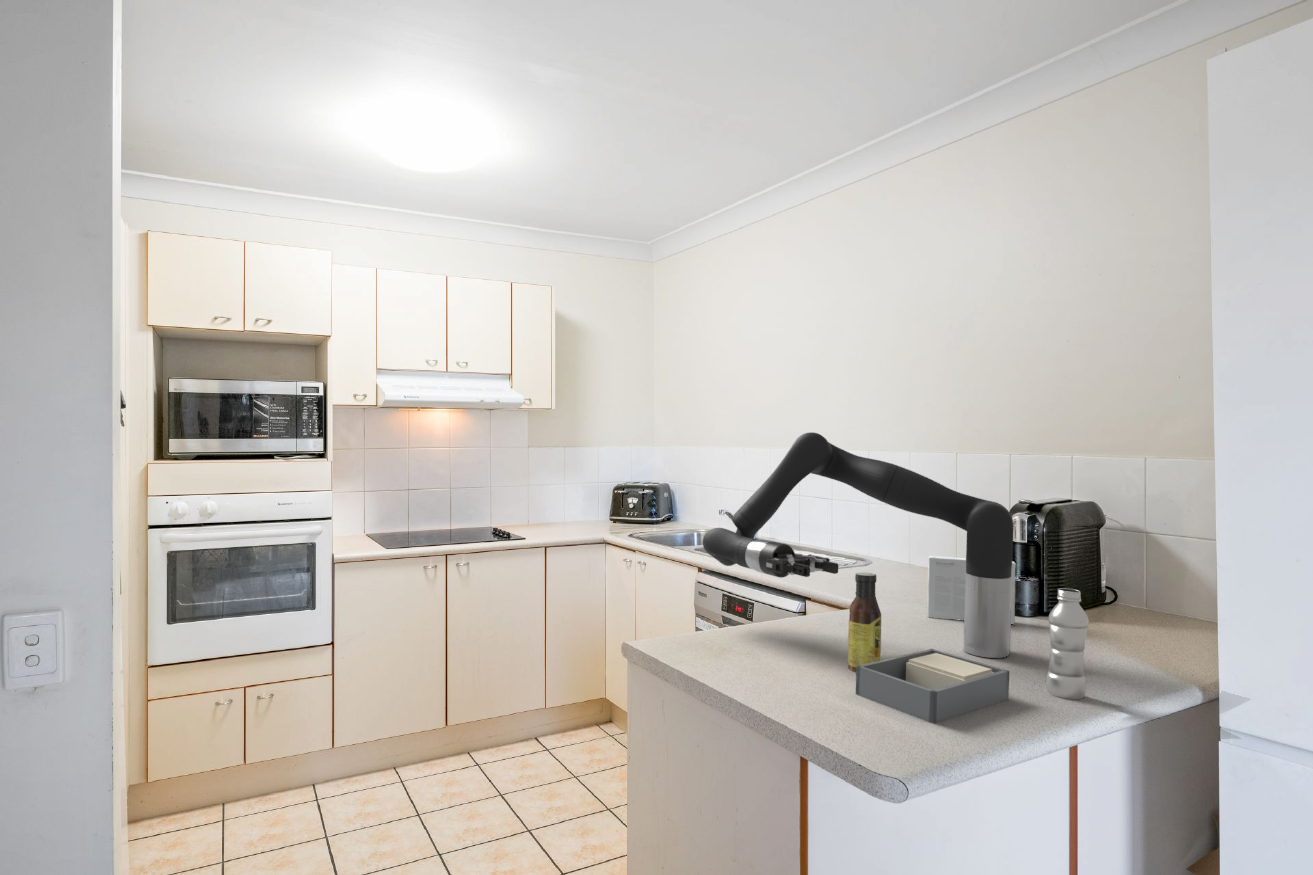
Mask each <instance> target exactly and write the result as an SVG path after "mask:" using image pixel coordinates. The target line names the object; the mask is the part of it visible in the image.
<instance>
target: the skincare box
mask: <svg viewBox="0 0 1313 875" xmlns="http://www.w3.org/2000/svg"><path fill="white" fill-rule="evenodd" d="M927 564H928V565H927V567H928V568H927V618H928V617H931V618H930V619H938V618H941V620H949V619H960V620H964V618H965V587H966V586H965V584H966V557H955V556H953V557H952V556H940V555H928V563H927ZM1016 566H1017V564H1016V562H1015V561H1013V560H1012V570H1011V598H1010V610H1011V623H1015V620H1016V619H1015V618H1016V617H1015V614H1016V613H1015V612H1016V611H1015V610H1016V608H1015V606H1016ZM932 617H933V618H932ZM1015 624H1016V623H1015Z"/></svg>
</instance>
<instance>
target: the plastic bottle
mask: <svg viewBox="0 0 1313 875" xmlns="http://www.w3.org/2000/svg"><path fill="white" fill-rule="evenodd" d="M1081 594H1082V593H1081V591H1080V590H1078V589H1073V588H1061V587H1060V588H1057V596H1056V599H1057V600H1058V603H1056V604H1055V606H1054V607H1053V608H1052V610H1050V612H1049V615H1048V628H1049V636H1050V656H1049V663H1048V670H1047V672H1046V677H1045V688H1046V692H1047V693H1048V694H1049V695H1052V696H1053V697H1057V698H1060V699H1066V700H1081V699H1083V698H1084V697H1085V696H1086V693H1087V681H1086V676H1085V661H1084V660H1085V658H1084V657H1085V648H1086V647H1085V646H1086V640H1087V634H1088V630H1089V629H1088V628H1089V623H1090V620H1089V618H1088V615H1087V613H1086V611H1085V610H1084V609H1083V608H1082V606H1081V605H1080V603H1081V602H1082V598H1081Z"/></svg>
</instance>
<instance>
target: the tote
mask: <svg viewBox="0 0 1313 875" xmlns="http://www.w3.org/2000/svg"><path fill="white" fill-rule="evenodd" d="M934 653H938V654H942V655H945V656H949V657H952V658H955V659H959V660H962V661H966V662H969V663H973V664H976V665H979V666H983V667H986V668H990V669H992V672H994V673H992V674H988V675H985V676H981V677H978V678H974V679H971V680H967V681H964V682H960V683H957V684H953V685H950V686H946V687H943V688H939V689H935V690H931V689H928V688H925V687H922V686H919V685H916V684H913V683H910V682H907V681H906V662H909V659H913V658H917V657H921V656H926V655H930V654H934ZM1009 690H1010V670H1007V669H1004V668H1000V667H996V666H993V665H990V664H987V663H982V662H979V661H976V660H973V659H969V658H965V657H962V656H958V655H956V654H955V655H954V654H951V653H948V652H945V651H940V650H937V649H934V648H928V649H924V650H920V651H916V652H911V653H907V654H903V655H899V656H894V657H889V658H885V659H880V661H876V662H872V663H867V664H863V665H859V666H856V672H855V695H857V696H860V697H862V698H865V699H867V700H870V701H873V702H875V703H878V704H881V705H883V706H886V707H889V708H891V709H893V710H896V711H898V712H902V713H904V714H907V715H909V716H911V717H914V718H917V719H920V720H922V721H925V722H928V723H931V724H933V725H934V724H936V723H940V722H943V721H946V720H949V719H951V718H955V717H958V716H961V715H964V714H967V713H970V712H973V711H977V710H979V709H982V708H986V707H989V706H992V705H995V704H998V703H1001V702H1003V701H1007V700H1009V696H1010V695H1009V694H1010V691H1009Z"/></svg>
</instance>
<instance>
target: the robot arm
mask: <svg viewBox="0 0 1313 875" xmlns="http://www.w3.org/2000/svg"><path fill="white" fill-rule="evenodd" d="M810 474H812V475H816V476H821V477H822V478H823V477H824V478H827V479H831V480H834V481H837V482H841V483H843V484H846V485H848V486H849V487H851V488H853V489H855V490H856V491H859V492H861V493H862V494H865V495H866V496H869V497H871V498H873V499H875V500H877V501H879V502H881V503H884V504H886V505H889V506H892V507H894V508H897V509H900V510H902V511H905V512H908V513H912V514H915V515H921V516H925V517H928V518H929V517H930V518H935V519H938V520H941V521H944V522H946V523H949V524H951V525H953V526H955V527H957V528H959V529H961V530H964V531H965V532H966V546H965V547H966V549H965V550H966V553H965V558H966V584H965V586H966V587H965V618H964V621H963V622H964V624H963V626H964V627H963V651H964V652H965V653H968V654H970V655H972V656H976V657H983V658H992V659H1002V658H1003V657H1004V658H1007V657H1009V654H1010V653H1011V638H1012V637H1011V634H1012V625H1011V610H1010V598H1011V570H1012V561H1013V552H1014V551H1013V550H1014V549H1013V548H1014V520H1013V517H1012V515H1011V512H1010V511H1009V510H1008V509H1007V508H1006V507H1005V506H1004V505H1003V504H1001V503H998V502H997V501H991V500H987V499H983V498H980V497H976V496H972V495H969V494H965V493H963V492H958V491H956V490H954V489H951V488H950V487H947V486H945V485H943V484H941V483H940V482H938V481H935V480H933V479H931V478H929V477H927V476H925V475H923V474H920V473H918V472H916V471H913V470H910V469H907V468H905V467H903V466H900V465H897V464H894V463H890V462H889V461H888V462H887V461H884V460H883V461H882V460H879V459H874V458H869V457H863V456H860V455H857V454H853V453H851V452H849V451H847V450H844V449H842V448H840V447H838V446H836V445H834V444H833V443H831V442H829V441H828V440H827V438H825V437H824V436H823V435H822V434H820V433H817V432H806V433H805V432H804V433H803V434H801V435H800V436H798V437H797V438H796V439H795V441H793V443H792V445H791V447H790V448H789V450H788V451H787V452H786V454H785V456H784V457H783V459H782V460H781V461H780V463H779V464H778V465H777V467H776V468H775V470H774V471H773V472H772V473H771V474H770V476H769V477H767V479H766V480H765V481H764V482H763V483H762V484H761V486H760V487H759V488H757V489H756V491H755V492H754V493H753V494H752V495H751V496H750V497H749V498H748V499H747V500H746V501H745V502H744V503H743V504H742V505H741V507H739V509H738V510H736V512H734V514H733V516H732V523H733V525H734V526H735V528H736V531H735V532H734V531H732V530H730V529H727V528H724V527H714V528H712V529H710V530H708V531H706V533H705V534H704V536H703V539H702V545H703V546H702V547H703V549H704V551H705V552H706V553H707V554H708V555H709V556H711V557H712V558H714V559H715V560H716V561H718V562H719V563H720V564H721V565H723V566H726V567H731V566H734V565H737V566H740V567H743V568H746V569H750V570H754V571H755V572H757V573H760V574H766V575H768V576H772V577H777V578H779V579H780V578H787V577H788V576H789V575H791V576H794V575H797V576H801V577H805V578H808V577H810V576H811V573H815V571H817V572H825V573H829V574H835V575H836V574H838V573H839V564H838V563H837V562H833V561H831V558H828V557H824V556H818V555H812V554H807V555H803V554H802V553H795V551H794V549H793V547H791V546H790V544H785V543H781V542H778V541H773V540H767V539H756V538H755V536H756V534H757V533H758V532H759V531H760V530H761V529H762V528H763V527H764V525H765V524H767V523H768V521H769V520H770V519H771V518H772V517H773V516H774V515H775V513H777V511H778V510H779V508H780V507H781V505H782V504H783V502H784V501H785V500H786V498H787V497H788V495H789V494H790V493H791V491H793V489H794V488H795V487H796V486H797V485H798V484H799V483H800V482H802V480H803V479H805V478H806V477H807V476H809V475H810ZM1009 652H1010V653H1009ZM1006 656H1007V657H1006ZM1004 658H1003V659H1004Z"/></svg>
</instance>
